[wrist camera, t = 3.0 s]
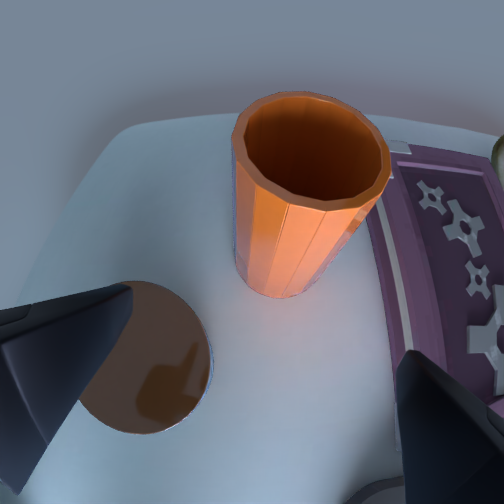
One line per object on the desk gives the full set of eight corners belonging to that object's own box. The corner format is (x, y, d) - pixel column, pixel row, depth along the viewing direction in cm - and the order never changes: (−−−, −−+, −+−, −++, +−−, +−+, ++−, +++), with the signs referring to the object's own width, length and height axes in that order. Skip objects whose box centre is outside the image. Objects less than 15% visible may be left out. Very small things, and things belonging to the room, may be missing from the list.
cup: (339, 267, 24) (418, 170, 12) (267, 315, 22) (302, 244, 10) (288, 202, 26) (321, 79, 14) (217, 242, 24) (202, 120, 12)
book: (348, 171, 28) (365, 137, 23) (465, 181, 29) (488, 156, 24) (391, 451, 18) (424, 464, 14) (514, 397, 19) (547, 393, 15)
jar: (241, 383, 20) (243, 387, 16) (135, 442, 18) (110, 457, 13) (175, 277, 23) (160, 253, 18) (79, 335, 21) (45, 324, 16)
